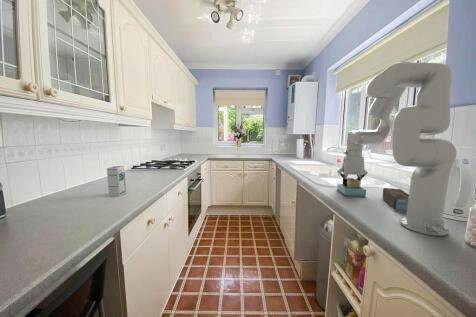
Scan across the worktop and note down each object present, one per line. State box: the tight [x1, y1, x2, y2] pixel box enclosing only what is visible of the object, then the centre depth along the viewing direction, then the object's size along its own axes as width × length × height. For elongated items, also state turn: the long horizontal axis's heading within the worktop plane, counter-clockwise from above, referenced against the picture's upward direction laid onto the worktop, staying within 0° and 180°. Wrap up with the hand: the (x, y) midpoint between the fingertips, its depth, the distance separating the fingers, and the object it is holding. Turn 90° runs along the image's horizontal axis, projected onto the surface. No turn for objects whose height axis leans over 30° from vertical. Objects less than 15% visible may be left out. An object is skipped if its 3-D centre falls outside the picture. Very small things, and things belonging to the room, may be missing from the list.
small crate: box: [346, 177, 361, 188], centre depth 116 cm, size 7×6×4 cm
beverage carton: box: [382, 187, 409, 214], centre depth 98 cm, size 8×19×7 cm, turn 160°
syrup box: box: [106, 165, 127, 197], centre depth 107 cm, size 6×6×14 cm
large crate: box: [336, 183, 367, 198], centre depth 117 cm, size 12×11×4 cm
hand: (351, 185), depth 116 cm, fingers closed on small crate, 6 cm apart
